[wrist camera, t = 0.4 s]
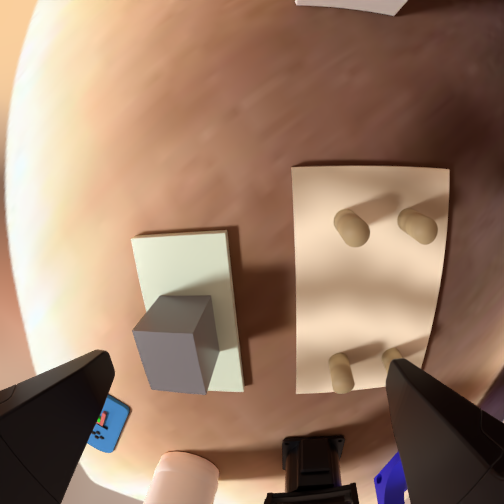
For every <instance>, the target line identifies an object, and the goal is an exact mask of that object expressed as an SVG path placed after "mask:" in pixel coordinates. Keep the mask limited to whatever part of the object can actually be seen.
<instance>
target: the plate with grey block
mask: <svg viewBox="0 0 504 504" xmlns="http://www.w3.org/2000/svg"><path fill="white" fill-rule="evenodd" d="M131 241H132V247H133V252H134V257H135V262H136V267H137V272H138V277H139V282H140V286H141V291H142V295H143V300H144V304H145V308H146V314H145V315H144V316H143V317H142V319H141V320H140V321H139V322H138V324H137V325H136V326H135V328H134V329H133V330H132V332H133V335H134V338H135V342H136V345H137V348H138V351H139V354H140V358H141V361H142V364H143V367H144V370H145V373H146V375H147V378H148V381H149V384H150V387H151V389H152V390H160V391H169V392H178V393H189V394H202V395H206V394H207V390H209V391H230V392H244V387H245V385H244V377H243V369H242V361H241V353H240V344H239V336H238V327H237V318H236V309H235V300H234V291H233V281H232V272H231V262H230V252H229V242H228V232H227V230H218V231H200V232H184V233H168V234H152V235H138V236H135V237H133V238H131Z"/></svg>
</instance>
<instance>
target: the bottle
mask: <svg viewBox="0 0 504 504" xmlns="http://www.w3.org/2000/svg"><path fill="white" fill-rule="evenodd" d="M218 478H219V470H218V469H217V468H216V466H215V465H214V464H213V463H211V462H210V461H208V460H207V459H204V458H202V457H200V456H198V455H194V454H190V453H187V452H178V451H175V452H167V453H165V454H163V455H162V456H161V459H160V461H159V462H158V465H157V467H156V469H155V472H154V475H153V480H152V482H151V485H150V487H149V490H148V493H147V495H146V498H145V501H144V503H143V504H213V501H214V497H215V493H216V491H217V487H218Z"/></svg>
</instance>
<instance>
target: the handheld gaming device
mask: <svg viewBox="0 0 504 504" xmlns="http://www.w3.org/2000/svg"><path fill="white" fill-rule="evenodd" d="M129 411H130V409H129V407H128V406H127V405H125V404H124V403H122V402H120V401H118V400H117V399H115V398H113V397H112V396H110V395H108V396H107V398H106V401H105V404H104V407H103V409H102V412H101V414H100V416H99V418H98V421H97V423H96V425H95V427H94V429H93V431H92V433H91V435H90V438H89V440H88V442H87V443H88V444H89V445H91V446H93V447H94V448H96V449H98V450H100V451H102V452H106V453H111V452H113V450H114V448H115V445H116V443H117V440H118V438H119V435H120V433H121V430H122V428H123V426H124V423H125V421H126V418H127V416H128V414H129Z"/></svg>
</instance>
